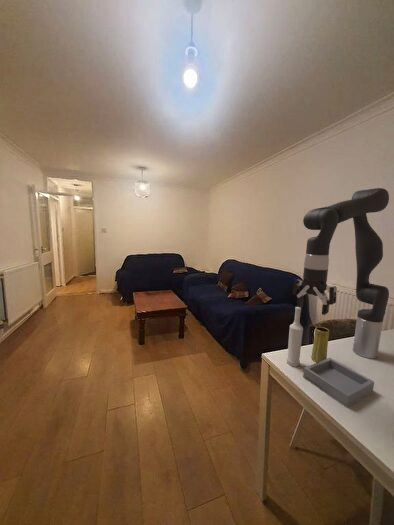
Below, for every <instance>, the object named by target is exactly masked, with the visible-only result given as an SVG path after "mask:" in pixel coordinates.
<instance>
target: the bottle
mask: <svg viewBox="0 0 394 525" xmlns="http://www.w3.org/2000/svg"><path fill="white" fill-rule="evenodd" d="M294 308H295V312H294V320H293V323H292V324H290V325H289V330H288V331H289V332H288V345H287V357H286V363H287V364H288V365H289V366H291V367H295V368H297V367H299V366H300V361H301V360H300V356H301V348H302V342H303V341H302V340H303V334H304V333H303V332H304V327H303V326H302V324H301V323H300V322H301V321H300V319H301V312H302V307H301V308H299V307H298V306H295V307H294Z"/></svg>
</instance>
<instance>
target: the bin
mask: <svg viewBox="0 0 394 525" xmlns="http://www.w3.org/2000/svg"><path fill="white" fill-rule="evenodd" d="M302 377H303V378H304V379H305V380H306V381H308V382H309V383H310V384H312V385H314V386H315V387H316V388H318V390H320V391H322V392H324V393H325V394H326V395H328V396H330V398H332V399H334V400H335V401H337V402H338V403H340V404H341V405H342V406H344V407H345V408H348V407H350V406H352V405H354V404H355V403H357V402H358V401H360V400H362V399H363V398H365V397H367V396H368V395H370V394H372V393H373V392H374V388H375V387H374V386H375V381H373V380H372V379H370V378H368V377H367V376H364V375H363V374H360V373H358V372H357V371H355V370H354V369H352V368H349V367H347V365H344V364H342V363H340V362H338V361H336V360H335V359H332V358H331V357H327V359H325V360H323V361H320V362H315V363H313V364H311V365H308V366H306V367H304V368H303V375H302Z"/></svg>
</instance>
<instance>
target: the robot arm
mask: <svg viewBox="0 0 394 525" xmlns="http://www.w3.org/2000/svg"><path fill="white" fill-rule="evenodd" d="M389 202H390V194H389V192H388V190H387V189H385V188H381V187H376V188H370V189H369V188H368V189H362V190H357V191H355V192H354V193H353V194H352V195H351V199H347V200H343V201H339V202H337V203H333V204H330V205H328V206H324V207H317V208H314V209H311V210H310V209H309V211H307V212H306V213H305V215H304V216H303V219H302V224H303V226H304V228H306V229H307V230H310V231H319V232H318V235H316V236H313V237H309V238H308V239H307V240H306V250H305V251H306V252H305V257H304V262H303V273H302V274H303V276H302V278H303V280H301V279H300V278H299V279H294V281H293V289H292V295H293V296H296V297H297V302H296V306H297V307H299V308H301V309H302V308H303V307H304V300H305V299H304V296H305V295H313V296H315V297H318V299H320V301H321V302H322V303H323V304H322V307H321V315H323V316H325V315H327V314H329V310H330V306H331V305H334V304H337V289H338V288H337V286H336V285H333V286H329V285H328V284H327V281H328V275H329V274H328V273H329V264H330V262H329V261H330V260H329V259H330V258H329V255H330V246H331V245H330V244H331V242H332V239H333V236H334V234H335V231H336V229H337V227H338V225H339V224H341V223H343V222H345V221H348V220H350V219H352V221H353V227H354V228H353V229H354V238H355V259H356V283H355V296H356V299H357V300H358V301H360V302H362V303H365V304H368V305H372V308H367V309H366V308H365V309H363V308H362V309H359V310H358V311H357V316H356V324H355V329H354V330H355V331H354V338H353V343H352V345H353V346H352V351H353V353H355V354H356V355H358V356H360V357H363V358H366V359H376V358H378V355H379V354H378V353H379V349H380V348H379V347H380V341H381V334H382V330H383V322H384V318H385V316H386V315H385V314H386V312H387V311H386V310H387V306H388V301H389V297H390V291H389V288H388V287H386V286H383V285H380V284H374V283H370V275H371V273H372V272H373V271H374V269H375V268H376V267H377V266H379V264H380V263H381V262H382V261H383V257H384V244H383V243H384V242H383V240H382V239H381V236H379V235H378V233H377V231H375V230H374V229H373V228H372V226H371V225H370V223H369V220H368V215H367V214H370V213H378V212H382V211H383V210H385V209H386V208H387V206H388V204H389ZM301 286H302V287H303V288H302V290H300V288H301ZM326 291H327V292H328V293H329V296H328V294H327V293H326ZM328 297H329V298H328Z"/></svg>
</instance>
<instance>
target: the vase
mask: <svg viewBox="0 0 394 525" xmlns="http://www.w3.org/2000/svg"><path fill="white" fill-rule="evenodd" d="M329 335H330V330H329V329H328V328H326V327H324V326H323V327H322V326H316V327H315V330H314V337H313V344H312V351H311V355H310V357H311V360H312V361H313V362H315V363H318V362H320V361H323V360H325V359H328V345H329Z"/></svg>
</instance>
